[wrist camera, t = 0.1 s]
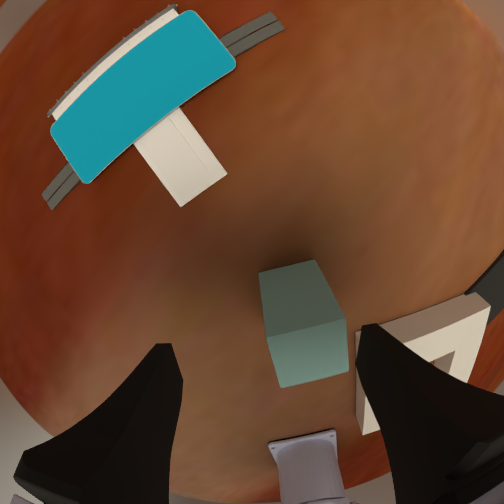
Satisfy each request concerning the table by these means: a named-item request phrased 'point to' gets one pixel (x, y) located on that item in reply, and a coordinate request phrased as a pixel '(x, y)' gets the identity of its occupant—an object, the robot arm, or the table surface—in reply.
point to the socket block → (434, 342)
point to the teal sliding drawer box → (149, 103)
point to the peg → (303, 324)
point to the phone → (491, 287)
